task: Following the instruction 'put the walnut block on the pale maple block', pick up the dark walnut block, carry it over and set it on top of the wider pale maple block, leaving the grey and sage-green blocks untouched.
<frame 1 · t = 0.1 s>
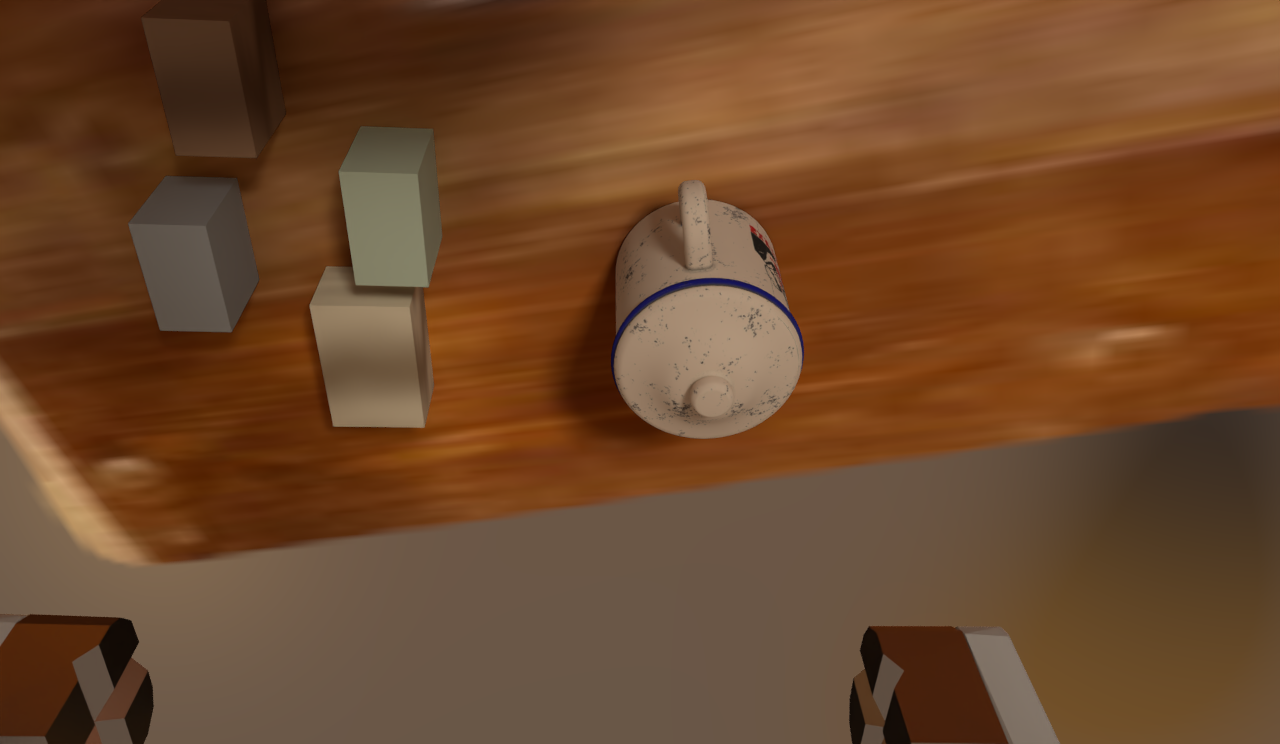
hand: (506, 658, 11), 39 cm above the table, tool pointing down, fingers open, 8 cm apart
sage block: (403, 182, 50), on the table
teacup with lid: (693, 242, 53), on the table
maple block: (383, 326, 55), on the table
walnut block: (237, 50, 46), on the table
grey block: (214, 229, 51), on the table
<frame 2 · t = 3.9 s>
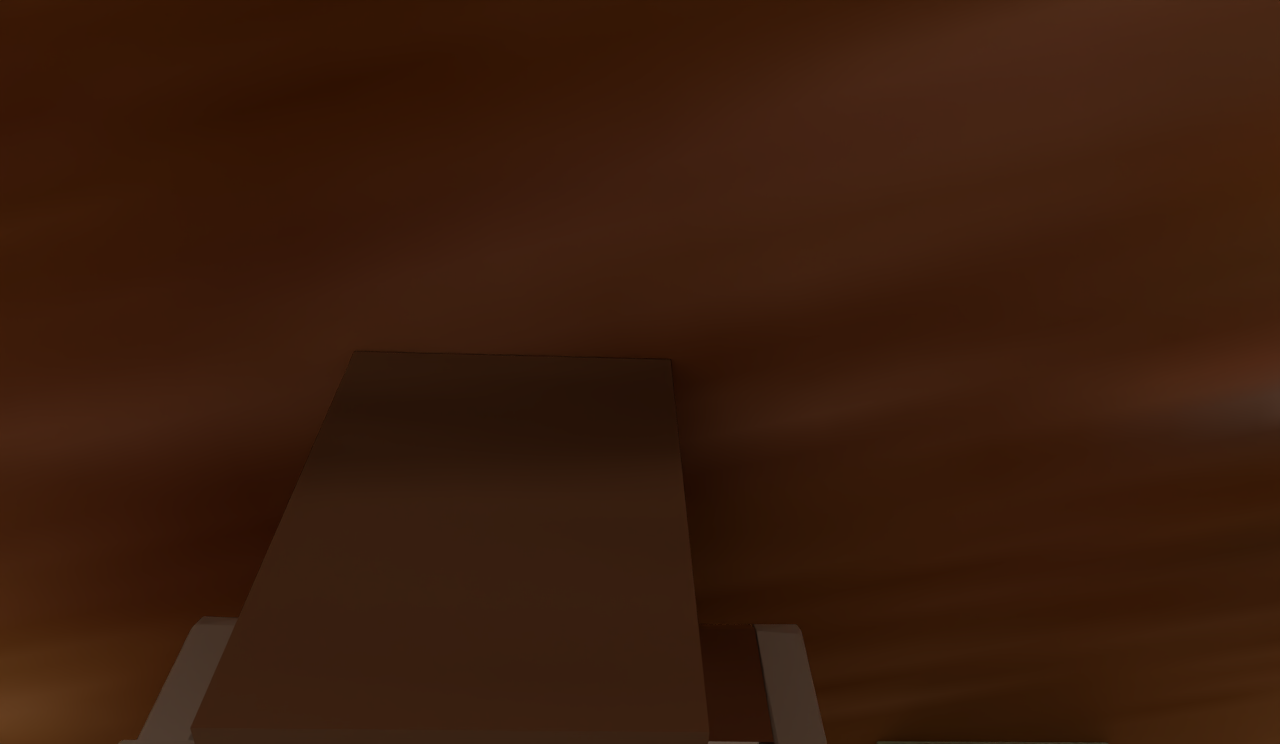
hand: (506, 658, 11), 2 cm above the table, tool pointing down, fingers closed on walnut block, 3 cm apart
walnut block: (518, 558, 13), on the table, touching gripper
when the fingers open (7 cm above the table, at t = 8.2 s): walnut block drops 2 cm, point 4 cm above the table.
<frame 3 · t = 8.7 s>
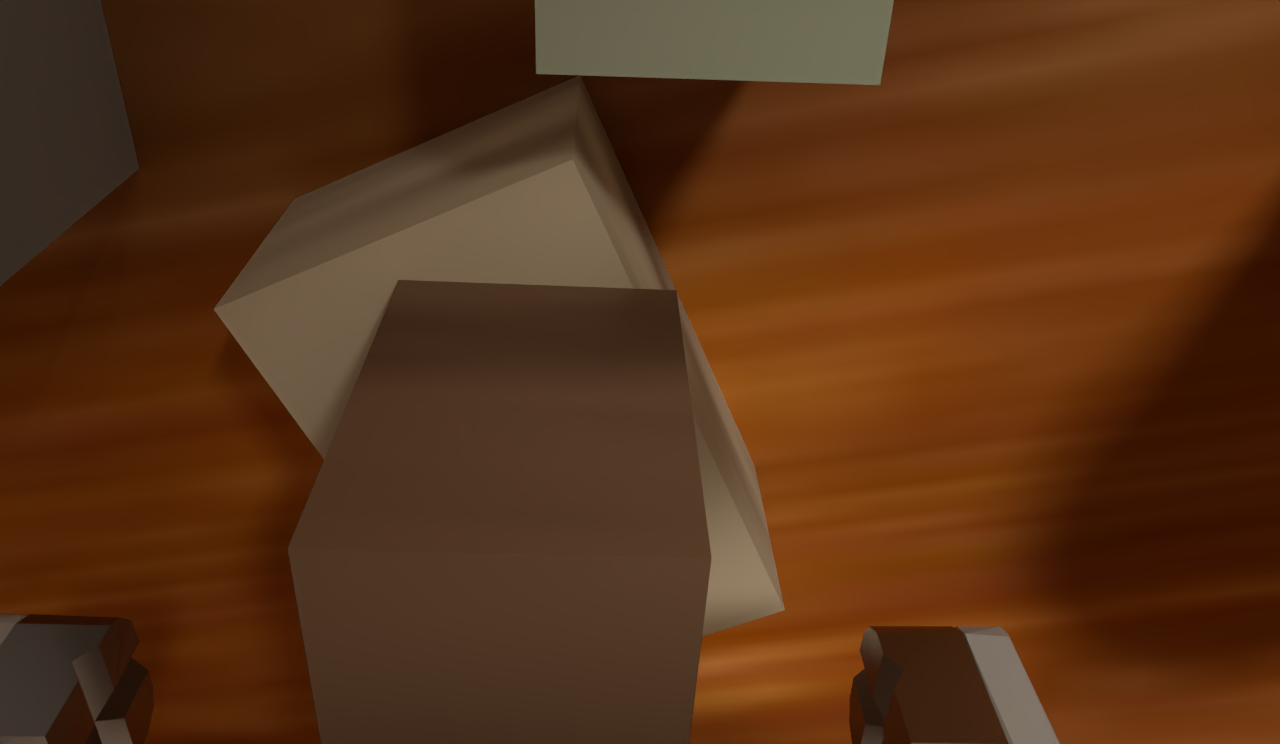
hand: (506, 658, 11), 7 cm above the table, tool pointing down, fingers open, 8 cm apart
maple block: (545, 337, 17), on the table
walnut block: (538, 474, 14), point 4 cm above the table
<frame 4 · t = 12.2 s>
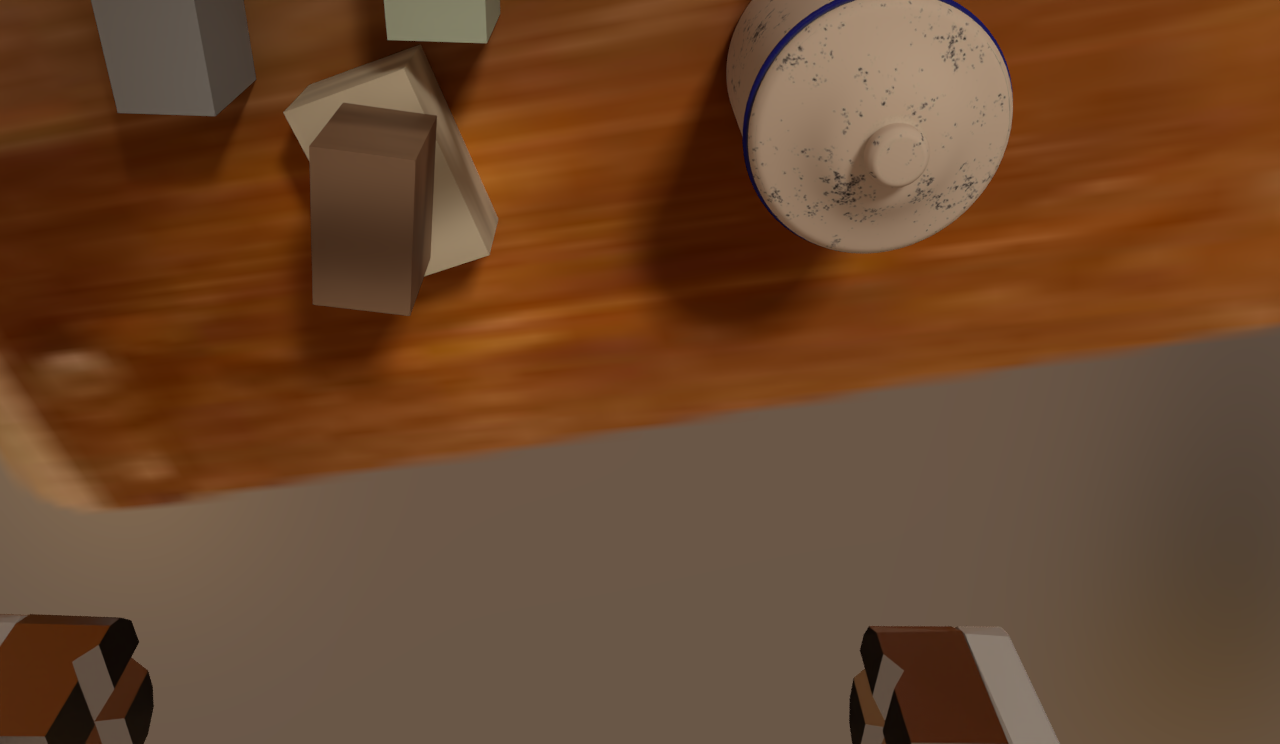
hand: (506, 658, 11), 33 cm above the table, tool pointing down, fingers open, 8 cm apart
teacup with lid: (828, 27, 40), on the table
maple block: (408, 152, 42), on the table, touching walnut block
walnut block: (388, 183, 39), point 4 cm above the table, touching maple block
grey block: (199, 0, 39), on the table
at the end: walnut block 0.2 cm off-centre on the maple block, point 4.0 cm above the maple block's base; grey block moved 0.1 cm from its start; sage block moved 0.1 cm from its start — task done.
